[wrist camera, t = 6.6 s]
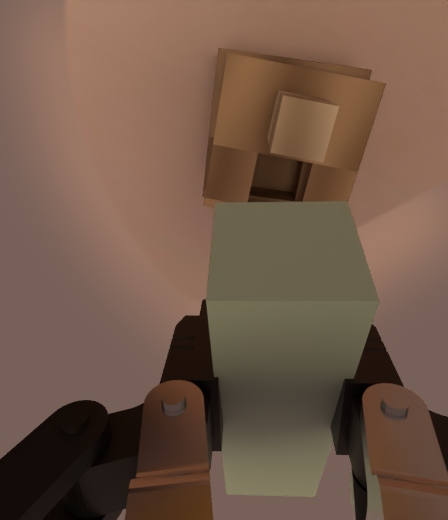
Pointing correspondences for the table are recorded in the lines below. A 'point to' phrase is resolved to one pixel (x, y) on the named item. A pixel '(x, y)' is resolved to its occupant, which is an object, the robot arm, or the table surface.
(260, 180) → the box
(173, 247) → the table surface
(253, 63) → the lid
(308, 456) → the green square block
